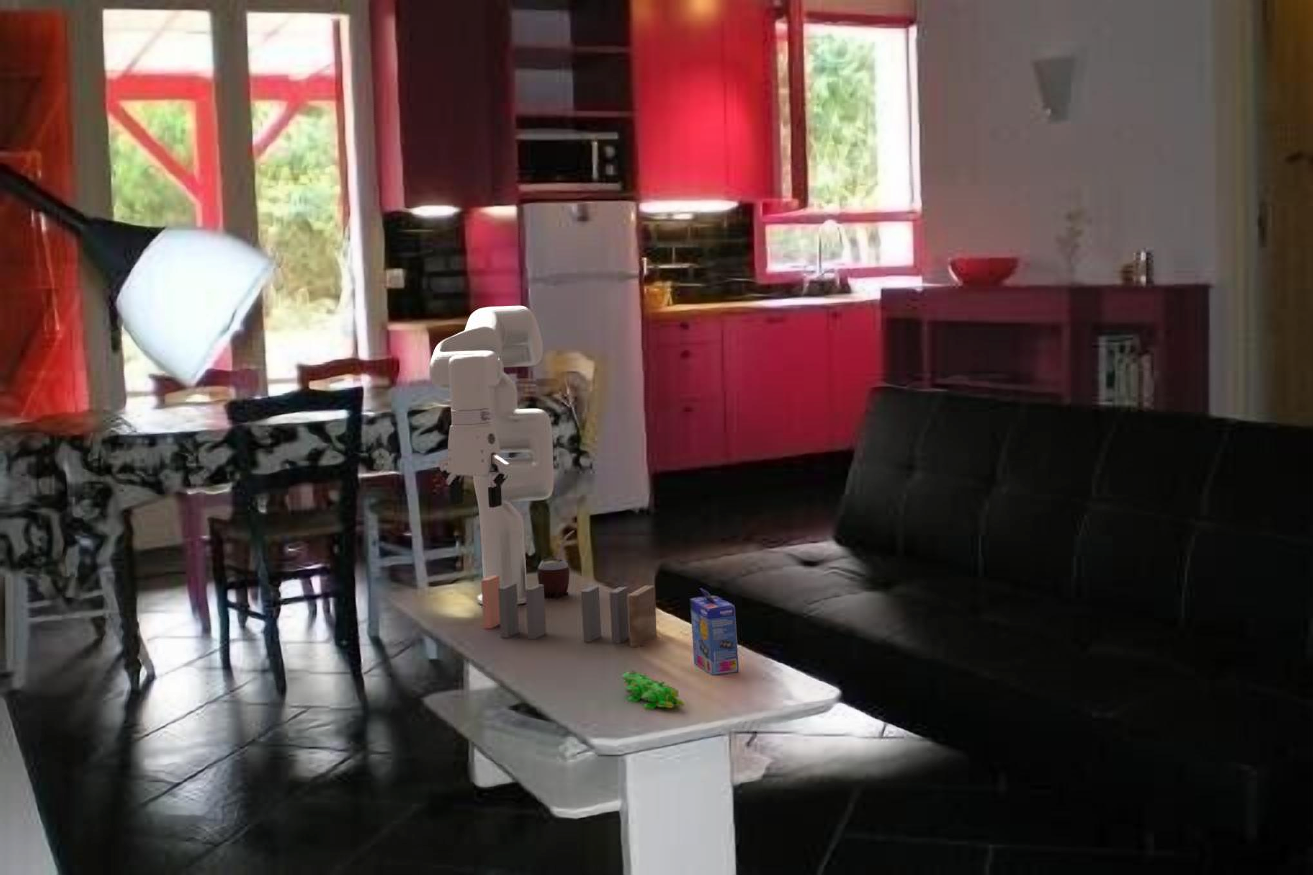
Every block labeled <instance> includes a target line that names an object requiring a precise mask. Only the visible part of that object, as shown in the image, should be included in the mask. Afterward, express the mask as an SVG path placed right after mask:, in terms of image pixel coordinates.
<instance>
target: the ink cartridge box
mask: <svg viewBox="0 0 1313 875" xmlns="http://www.w3.org/2000/svg"><path fill="white" fill-rule="evenodd" d="M699 589H700V592H701V593H702V594H703V596H698V597H692V598H689V602H690V603H689V604H690V616H691V617H690V618H691V635H692V650H693V651H692V652H693V654H692V655H693V663H694V664H695V665H697V666H698V667H699V668H701V669H703V670H704V671H706V672H707V673H708V674H709V675H711V676H716V675H722V674H730V673H731V674H733V673H738V672H739V671H740V665H739V664H740V661H739V652H738V650H739V648H738V639H737V638H738V636H737V624H736V623H737V621H736V620H737V619H736V608H735V605H734V604H733V603H731V602H730V601H727V600H724V599H723V598H722V597H719V596H717V595H711V594H710V593H709V591H707V590H705V589H703V588H699Z"/></svg>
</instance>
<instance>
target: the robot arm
mask: <svg viewBox="0 0 1313 875" xmlns="http://www.w3.org/2000/svg"><path fill="white" fill-rule="evenodd" d="M541 334H542V333H541V332H540V328H539V325H538V321H537V319H536V317H535V314H534V313H533V311H532V310H530V309H529V308H528V307H526V306H523V305H509V306H508V305H507V306H487V307H482V308H481V307H480V308H478V309H477V310H475V311H474V312H472V313H471V314H470V316H469V318H468V320H467V323H466V325H465V329H464V330H463V331H461V332H458V333H457V334H454V335H452V336H450V337H447V338H445V339H443V340H441V341H440V342H439V343H438V344H437V345H436V347H434V348H435V349H434V350H433V354H432V356H431V359H430V364H429V376H430V380H431V382H432V384H433V386H434V387H436V388H437V389H438V390H445V391H449V399H450V400H449V401H450V416H451V417H450V418H451V425H449V430H448V431H449V432H448V441H447V455H446V456H444V457H443V458H441V459H440V460H438V462H437V464H438V468H439V469H440V470H439V471H441V476H442V477H443V478H444V480H445V483H446V485H448V487H449V502H450V505H451V506H455V505H459V504H463V503H464V489H463V483H462V482H460V481H461V480H462V478H463V477H469V478H471V477H473V478H472V480H473V487H474V491H475V495H476V501H477V505H478V506H477V507H478V513H479V514H478V515H479V528H480V546H481V561H482V563H481V564H482V580H483V579H485V578H487V577H490V576H492V575H499V578H500V587H502V586H504V585H507V584H509V583H517V601H518V605H522V604H526V589H527V588H528V585H527V584H528V583H527V567H526V566H527V565H526V551H525V550H526V548H525V546H526V545H525V528H524V527H525V526H524V525H525V524H524V520H523V517H522V515H521V514H520V512H519V511H518V510H517V509H516V508H515V507H514V506H513V504H512V503H513V502H529V501H543V500H546V499H548V498H550V497H551V496H552V495H553V491H554V487H555V486H554V485H555V484H554V483H555V481H554V480H555V478H554V477H555V475H554V449H553V448H554V447H553V445H554V443H553V442H554V441H553V428H552V423H551V419H550V416H549V414H548V413H547V412H546V411H545V410H543V409H540V408H519V407H518V389H517V387H516V386H517V385H516V384H515V382H514V381H513V380H512V379H511V377H509V375H508V374H507V373H506V372H504V368H517V367H532V366H536V365H537V364H539V363H540V361H541V359H542V357H543V354H544V353H543V352H544V345H543V339H542V335H541ZM526 452H527V453H530V454H531V455H532V456H531V457H530V456H528V457H501V456H502V455H501V454H503V453H504V454H506V453H526ZM476 599H477V600H476V601H477V603H479V604H480V605H483V601H482V593H480V594H478V596H477V598H476Z"/></svg>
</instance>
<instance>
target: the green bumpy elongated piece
mask: <svg viewBox="0 0 1313 875" xmlns="http://www.w3.org/2000/svg"><path fill="white" fill-rule="evenodd" d="M620 678H622V680H623V681H624V682H623V683H624V684H626V685H625V686H626V687H625V688H624V691H625V692H626V693H629V694H632V695H631V696H628V698H627V700H628V701H631V702H639V701H640V700H641V699H642V700H643V701H648V702H647V703H645V704H644V705H643V707H644V708H646V709H651V710H652V709H653V710H654V709H655V708H656V707H659V708H667V709H672V708H674V707H675V705H676V706H678V707H682V706H684V701H683V700H682V699H680V698H678V697H679V690H678V689H676V688H674V687H673V686H670V685H669V684H668V683H667V684H665V681H657V680H653V679H650V678H648V677H647V674H645V673H642V674H641V673H638V672H637V671H635V670H633V669H630V670H629V671H627V672H625V673H623V674H622V675H621V676H620Z"/></svg>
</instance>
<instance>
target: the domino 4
mask: <svg viewBox="0 0 1313 875" xmlns="http://www.w3.org/2000/svg"><path fill="white" fill-rule="evenodd" d="M580 594H581V609H582V611H581V612H582V613H581V614H582V631H583V633H582V636H583V637H582V638H583V642H584V643H592V642H594V641H596V640H597V639H599V638H600V637H602V626H601V624H602V623H601V608H600V607H601V604H600V603H601V602H600V586H599V585H597V586H596V585H592V586H588V587H587V588H585V589H582V590H581V593H580Z"/></svg>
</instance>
